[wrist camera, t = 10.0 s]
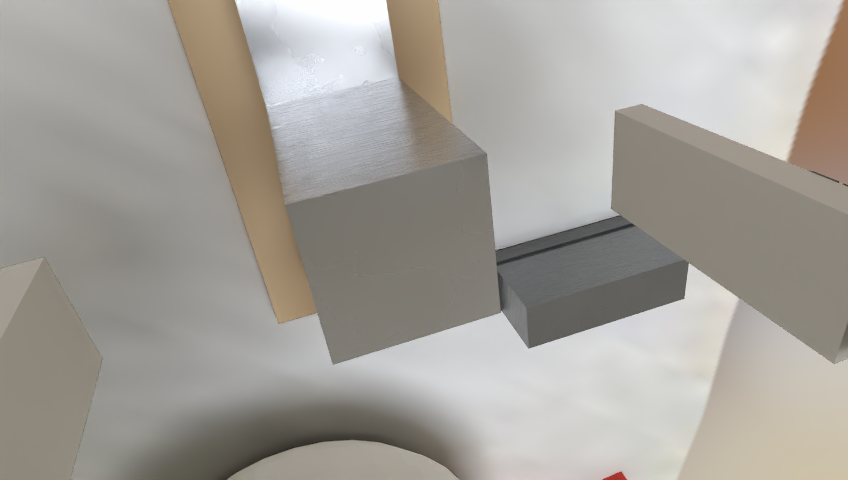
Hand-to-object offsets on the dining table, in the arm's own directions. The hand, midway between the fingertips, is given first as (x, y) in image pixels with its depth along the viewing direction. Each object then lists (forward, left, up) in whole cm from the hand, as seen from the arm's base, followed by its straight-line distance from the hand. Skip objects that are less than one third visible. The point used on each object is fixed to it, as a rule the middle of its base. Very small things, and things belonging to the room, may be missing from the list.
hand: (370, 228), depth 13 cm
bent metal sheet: (0, 0, -7) cm, 7 cm away
